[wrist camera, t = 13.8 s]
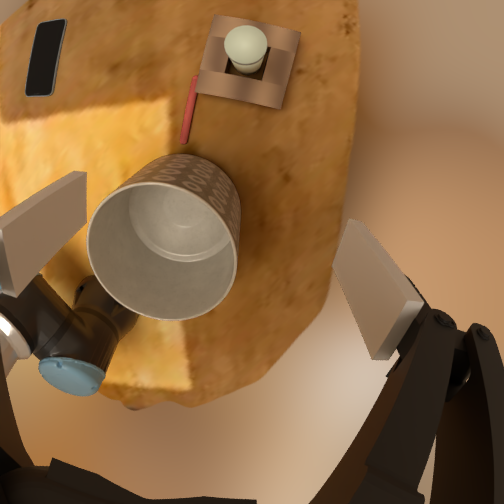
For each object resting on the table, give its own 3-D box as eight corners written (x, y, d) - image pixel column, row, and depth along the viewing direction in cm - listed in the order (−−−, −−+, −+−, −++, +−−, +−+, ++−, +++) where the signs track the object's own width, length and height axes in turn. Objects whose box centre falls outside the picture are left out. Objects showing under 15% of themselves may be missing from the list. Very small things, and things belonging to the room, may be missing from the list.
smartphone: (67, 17, 32) (51, 96, 39) (70, 18, 33) (54, 95, 40) (37, 22, 31) (24, 96, 38) (40, 23, 32) (26, 96, 39)
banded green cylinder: (231, 72, 40) (219, 58, 24) (237, 48, 38) (229, 21, 22) (258, 78, 40) (262, 67, 24) (264, 54, 38) (272, 29, 23)
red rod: (187, 144, 45) (185, 145, 44) (180, 142, 45) (178, 144, 44) (201, 76, 40) (200, 75, 39) (193, 75, 40) (192, 74, 39)
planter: (249, 157, 46) (249, 193, 31) (233, 260, 56) (227, 330, 40) (134, 145, 45) (80, 176, 29) (134, 246, 54) (95, 308, 38)
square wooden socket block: (200, 92, 41) (194, 92, 37) (218, 22, 35) (214, 14, 31) (277, 108, 43) (280, 109, 38) (296, 38, 37) (301, 32, 32)
